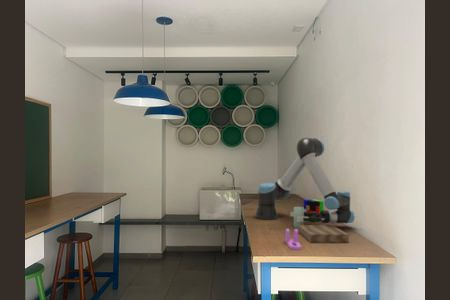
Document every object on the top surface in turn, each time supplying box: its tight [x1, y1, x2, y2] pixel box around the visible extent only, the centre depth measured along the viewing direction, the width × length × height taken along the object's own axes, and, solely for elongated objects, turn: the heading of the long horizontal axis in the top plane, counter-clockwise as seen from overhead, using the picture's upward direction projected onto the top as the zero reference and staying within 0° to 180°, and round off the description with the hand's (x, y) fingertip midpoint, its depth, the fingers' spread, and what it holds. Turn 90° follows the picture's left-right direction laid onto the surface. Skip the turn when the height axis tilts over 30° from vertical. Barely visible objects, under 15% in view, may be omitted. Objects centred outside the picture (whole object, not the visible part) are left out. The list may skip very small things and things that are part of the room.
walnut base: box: [297, 224, 350, 243], centre depth 163 cm, size 20×20×4 cm
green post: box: [293, 206, 305, 229], centre depth 184 cm, size 6×6×12 cm
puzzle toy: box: [303, 198, 324, 214], centre depth 227 cm, size 10×10×10 cm
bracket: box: [284, 228, 302, 251], centre depth 147 cm, size 13×6×7 cm, turn 179°
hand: (293, 216), depth 184 cm, fingers open, 13 cm apart
